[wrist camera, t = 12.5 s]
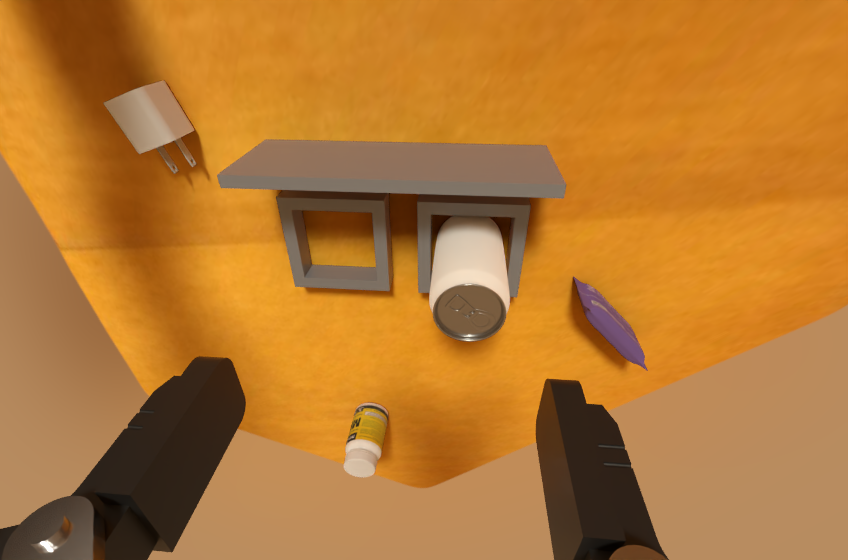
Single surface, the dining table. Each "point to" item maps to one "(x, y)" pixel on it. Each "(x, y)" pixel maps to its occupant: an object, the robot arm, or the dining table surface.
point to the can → (469, 279)
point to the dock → (395, 173)
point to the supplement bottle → (365, 439)
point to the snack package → (610, 323)
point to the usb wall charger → (152, 120)
